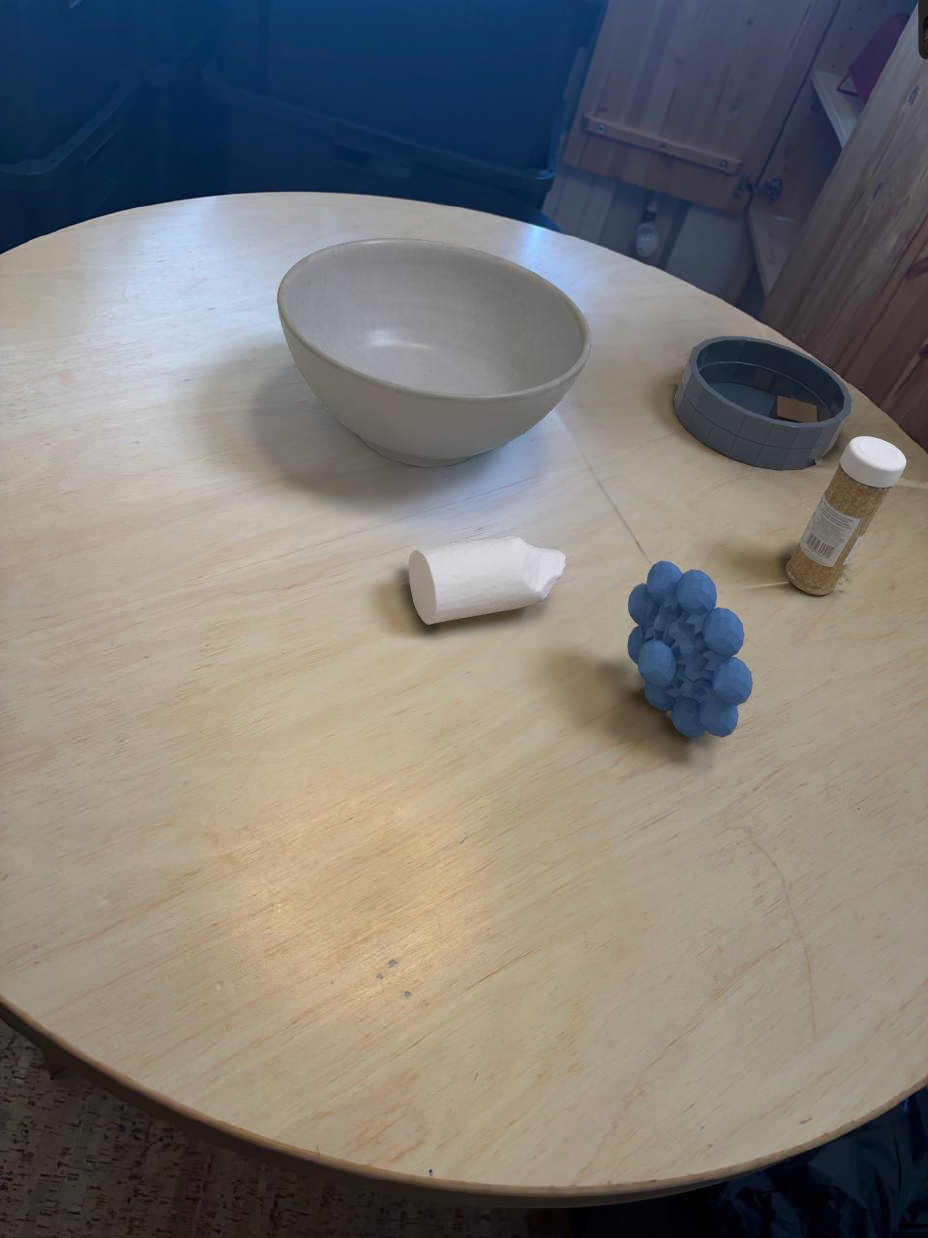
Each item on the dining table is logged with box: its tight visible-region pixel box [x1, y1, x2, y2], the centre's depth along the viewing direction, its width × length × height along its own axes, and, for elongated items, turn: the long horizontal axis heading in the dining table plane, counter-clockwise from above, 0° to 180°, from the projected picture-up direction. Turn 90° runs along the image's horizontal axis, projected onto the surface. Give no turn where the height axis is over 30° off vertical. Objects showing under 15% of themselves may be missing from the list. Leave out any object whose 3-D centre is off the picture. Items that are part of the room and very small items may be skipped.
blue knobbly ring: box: [627, 560, 754, 740], centre depth 64 cm, size 12×7×12 cm, turn 33°
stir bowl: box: [672, 335, 853, 471], centre depth 97 cm, size 17×17×6 cm
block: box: [768, 395, 818, 423], centre depth 95 cm, size 4×4×4 cm
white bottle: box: [408, 535, 567, 626], centre depth 72 cm, size 6×12×6 cm, turn 111°
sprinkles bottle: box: [784, 435, 907, 596], centre depth 78 cm, size 5×5×13 cm
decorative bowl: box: [276, 237, 592, 468], centre depth 85 cm, size 27×27×12 cm
